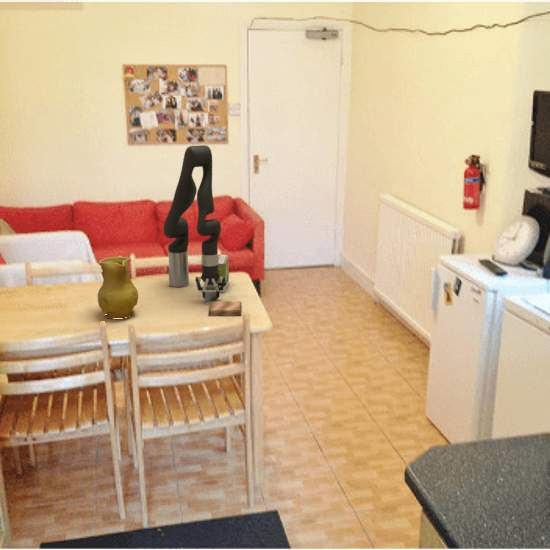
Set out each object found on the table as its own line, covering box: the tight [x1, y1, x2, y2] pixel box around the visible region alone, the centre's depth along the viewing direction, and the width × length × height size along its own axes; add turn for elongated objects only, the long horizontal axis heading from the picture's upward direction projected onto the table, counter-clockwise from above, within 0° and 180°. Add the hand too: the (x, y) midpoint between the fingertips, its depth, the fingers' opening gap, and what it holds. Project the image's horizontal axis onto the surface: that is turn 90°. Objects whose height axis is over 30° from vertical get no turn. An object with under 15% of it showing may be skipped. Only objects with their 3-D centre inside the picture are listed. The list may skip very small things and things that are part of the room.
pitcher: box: [97, 256, 139, 319], centre depth 292 cm, size 17×19×25 cm
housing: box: [204, 285, 218, 306], centre depth 309 cm, size 5×8×7 cm, turn 2°
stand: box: [208, 300, 242, 317], centre depth 299 cm, size 14×12×2 cm
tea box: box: [217, 254, 230, 293], centre depth 326 cm, size 15×10×15 cm, turn 179°
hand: (211, 298), depth 310 cm, fingers closed on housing, 5 cm apart
